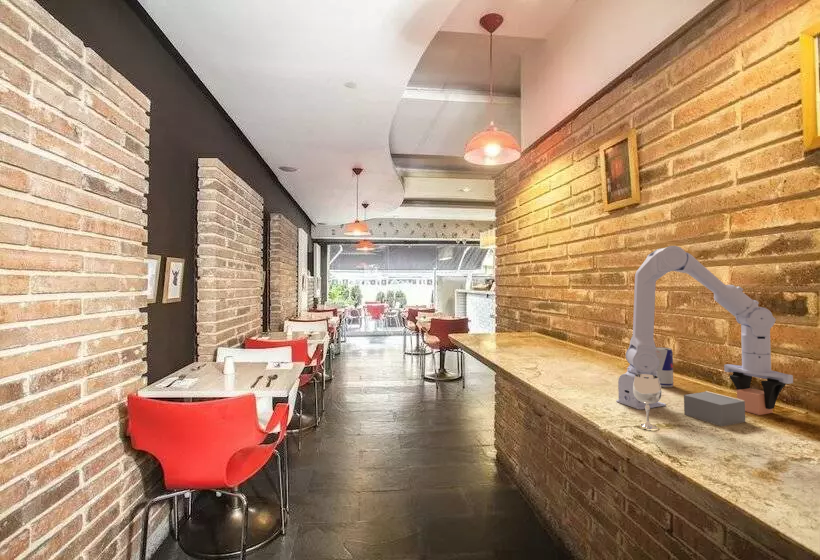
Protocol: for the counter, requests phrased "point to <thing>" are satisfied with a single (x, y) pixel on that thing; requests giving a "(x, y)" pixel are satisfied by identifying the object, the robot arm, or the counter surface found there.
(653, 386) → the wineglass
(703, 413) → the block
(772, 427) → the counter surface
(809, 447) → the counter surface
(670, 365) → the energy drink
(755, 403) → the salmon pink cube
